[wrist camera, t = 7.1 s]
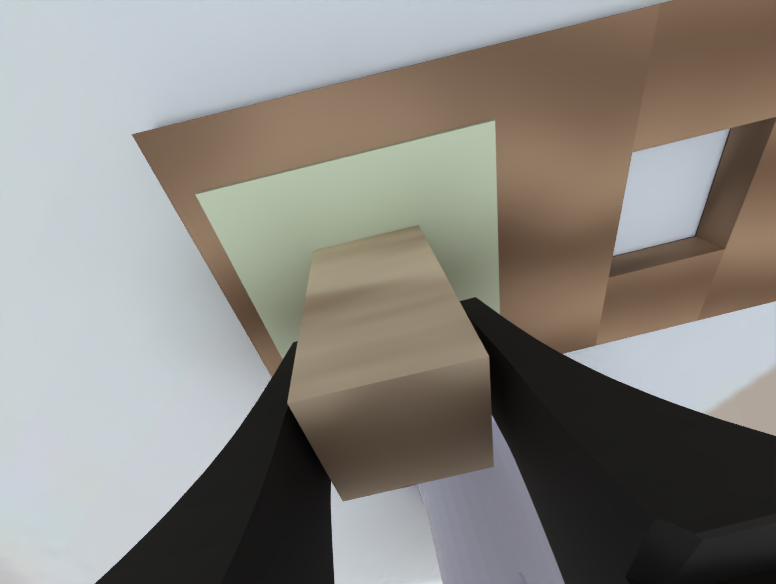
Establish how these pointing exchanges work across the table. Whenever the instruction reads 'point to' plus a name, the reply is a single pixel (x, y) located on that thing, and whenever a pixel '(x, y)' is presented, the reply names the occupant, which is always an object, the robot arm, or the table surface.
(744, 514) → the robot arm
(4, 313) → the table surface
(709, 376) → the table surface
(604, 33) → the walnut pocket board
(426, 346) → the maple block
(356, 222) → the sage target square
